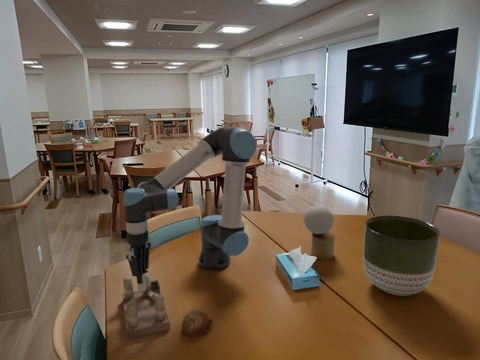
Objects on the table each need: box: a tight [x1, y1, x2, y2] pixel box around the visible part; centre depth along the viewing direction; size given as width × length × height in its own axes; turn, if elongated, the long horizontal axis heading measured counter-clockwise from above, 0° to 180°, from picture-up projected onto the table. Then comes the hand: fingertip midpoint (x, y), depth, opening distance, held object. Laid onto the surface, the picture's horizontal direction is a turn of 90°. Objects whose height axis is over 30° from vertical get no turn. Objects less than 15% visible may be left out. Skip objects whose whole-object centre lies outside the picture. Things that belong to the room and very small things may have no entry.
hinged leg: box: [143, 273, 159, 301], centre depth 131 cm, size 9×3×8 cm, turn 44°
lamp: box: [303, 205, 336, 260], centre depth 170 cm, size 15×14×25 cm
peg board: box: [121, 276, 171, 341], centre depth 125 cm, size 24×14×11 cm, turn 22°
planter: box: [362, 215, 441, 297], centre depth 138 cm, size 27×27×27 cm
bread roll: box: [181, 308, 213, 337], centre depth 119 cm, size 10×10×8 cm
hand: (142, 289), depth 130 cm, fingers closed
